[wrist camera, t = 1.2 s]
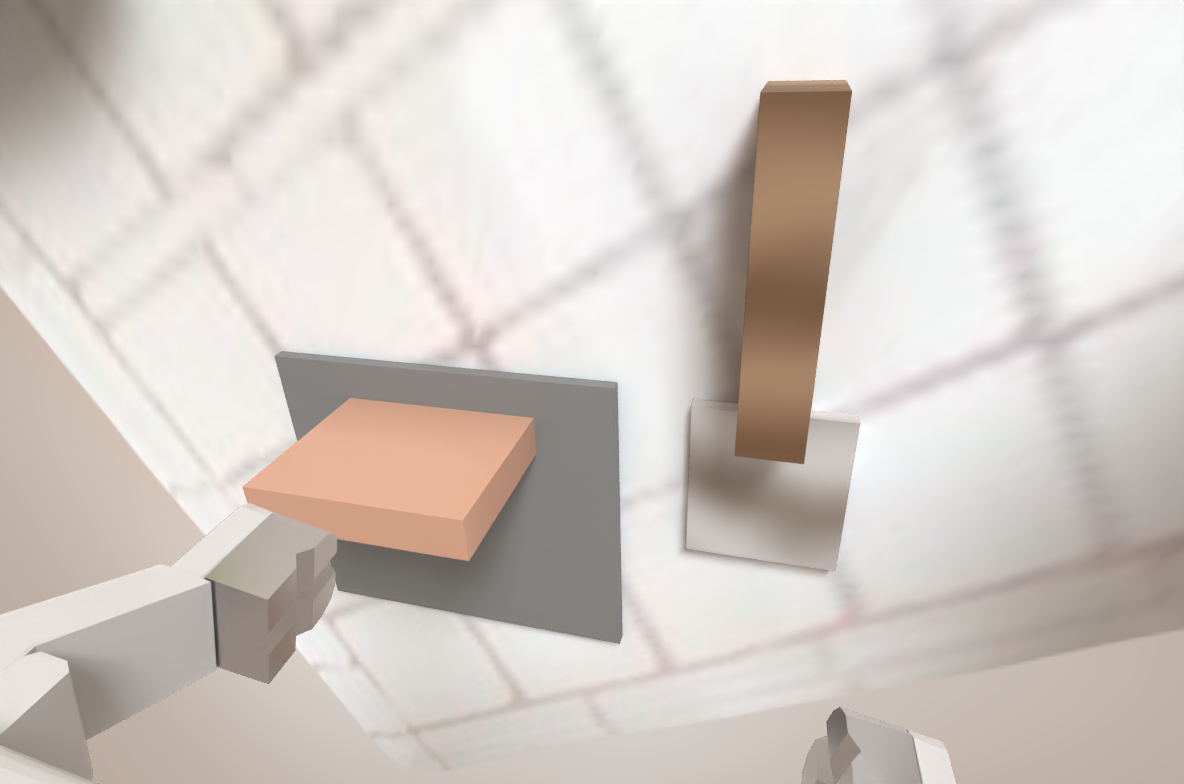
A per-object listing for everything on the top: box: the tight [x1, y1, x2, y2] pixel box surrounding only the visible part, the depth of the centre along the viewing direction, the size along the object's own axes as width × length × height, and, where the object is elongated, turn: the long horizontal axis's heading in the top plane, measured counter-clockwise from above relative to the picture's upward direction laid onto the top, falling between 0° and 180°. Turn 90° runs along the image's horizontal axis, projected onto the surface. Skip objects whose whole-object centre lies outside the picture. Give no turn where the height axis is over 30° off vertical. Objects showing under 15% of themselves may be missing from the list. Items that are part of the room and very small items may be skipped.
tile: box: [243, 398, 537, 561], centre depth 32 cm, size 10×2×8 cm, turn 91°
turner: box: [686, 80, 860, 571], centre depth 27 cm, size 21×7×4 cm, turn 1°
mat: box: [275, 352, 622, 644], centre depth 38 cm, size 18×16×1 cm
